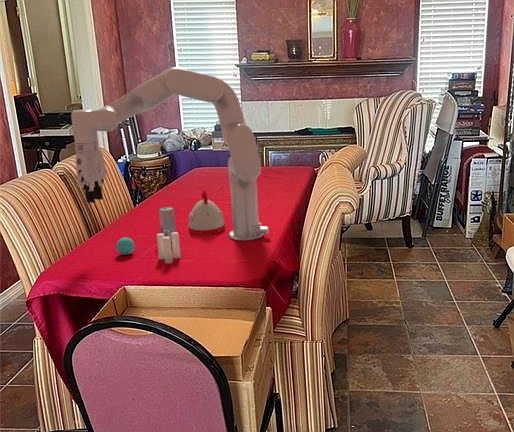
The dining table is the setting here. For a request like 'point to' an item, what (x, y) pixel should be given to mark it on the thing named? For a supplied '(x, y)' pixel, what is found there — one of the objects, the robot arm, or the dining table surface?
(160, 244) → the front pin
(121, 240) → the ball
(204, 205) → the kitchen timer
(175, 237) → the pin
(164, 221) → the energy drink
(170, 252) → the pin
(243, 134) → the robot arm
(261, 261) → the dining table surface
